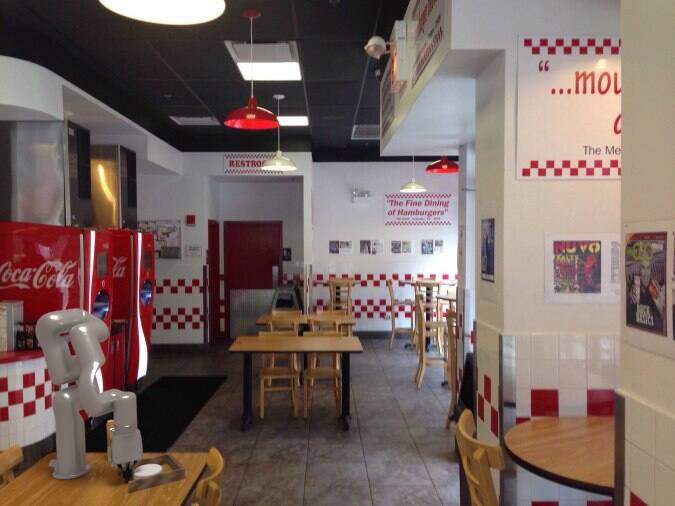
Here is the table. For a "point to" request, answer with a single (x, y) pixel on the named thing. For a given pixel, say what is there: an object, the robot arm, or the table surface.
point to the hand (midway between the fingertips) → (127, 479)
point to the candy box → (109, 438)
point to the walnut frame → (156, 479)
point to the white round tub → (146, 471)
